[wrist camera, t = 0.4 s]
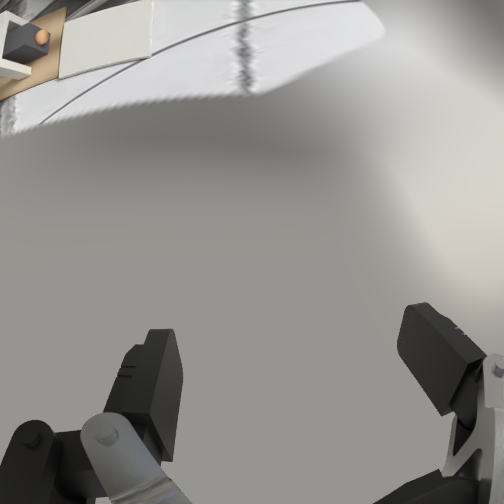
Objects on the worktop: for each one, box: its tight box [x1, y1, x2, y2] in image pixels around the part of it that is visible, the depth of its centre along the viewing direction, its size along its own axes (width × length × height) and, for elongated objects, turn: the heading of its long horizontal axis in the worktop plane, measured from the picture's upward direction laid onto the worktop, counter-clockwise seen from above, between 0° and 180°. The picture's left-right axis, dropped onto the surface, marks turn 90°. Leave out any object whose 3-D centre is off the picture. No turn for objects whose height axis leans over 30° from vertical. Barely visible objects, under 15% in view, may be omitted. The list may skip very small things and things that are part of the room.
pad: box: [59, 0, 154, 80], centre depth 26 cm, size 9×13×1 cm
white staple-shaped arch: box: [0, 11, 32, 80], centre depth 19 cm, size 8×2×11 cm, turn 2°
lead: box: [2, 22, 51, 65], centre depth 22 cm, size 4×9×6 cm, turn 92°
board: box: [0, 7, 67, 101], centre depth 25 cm, size 12×18×1 cm, turn 92°
